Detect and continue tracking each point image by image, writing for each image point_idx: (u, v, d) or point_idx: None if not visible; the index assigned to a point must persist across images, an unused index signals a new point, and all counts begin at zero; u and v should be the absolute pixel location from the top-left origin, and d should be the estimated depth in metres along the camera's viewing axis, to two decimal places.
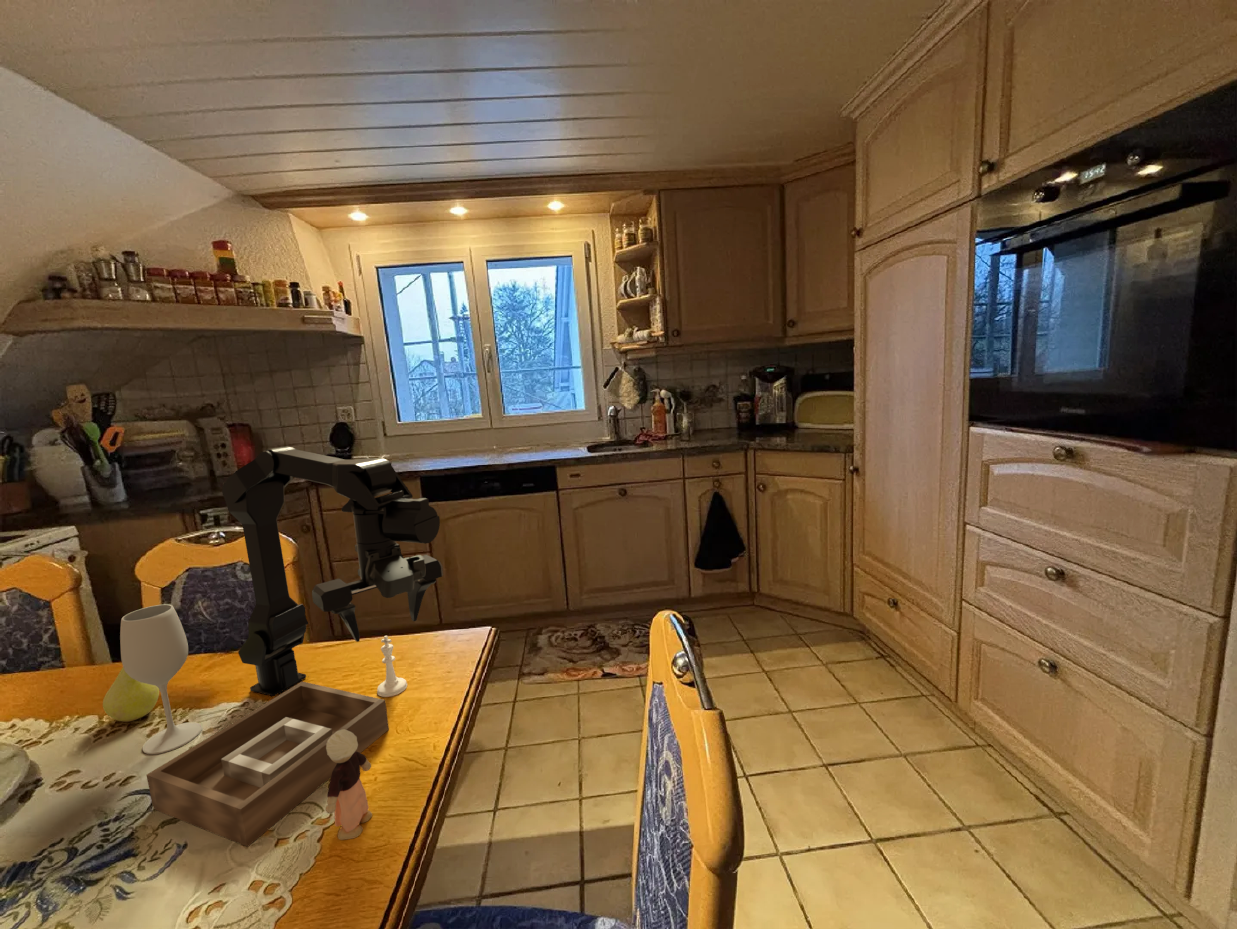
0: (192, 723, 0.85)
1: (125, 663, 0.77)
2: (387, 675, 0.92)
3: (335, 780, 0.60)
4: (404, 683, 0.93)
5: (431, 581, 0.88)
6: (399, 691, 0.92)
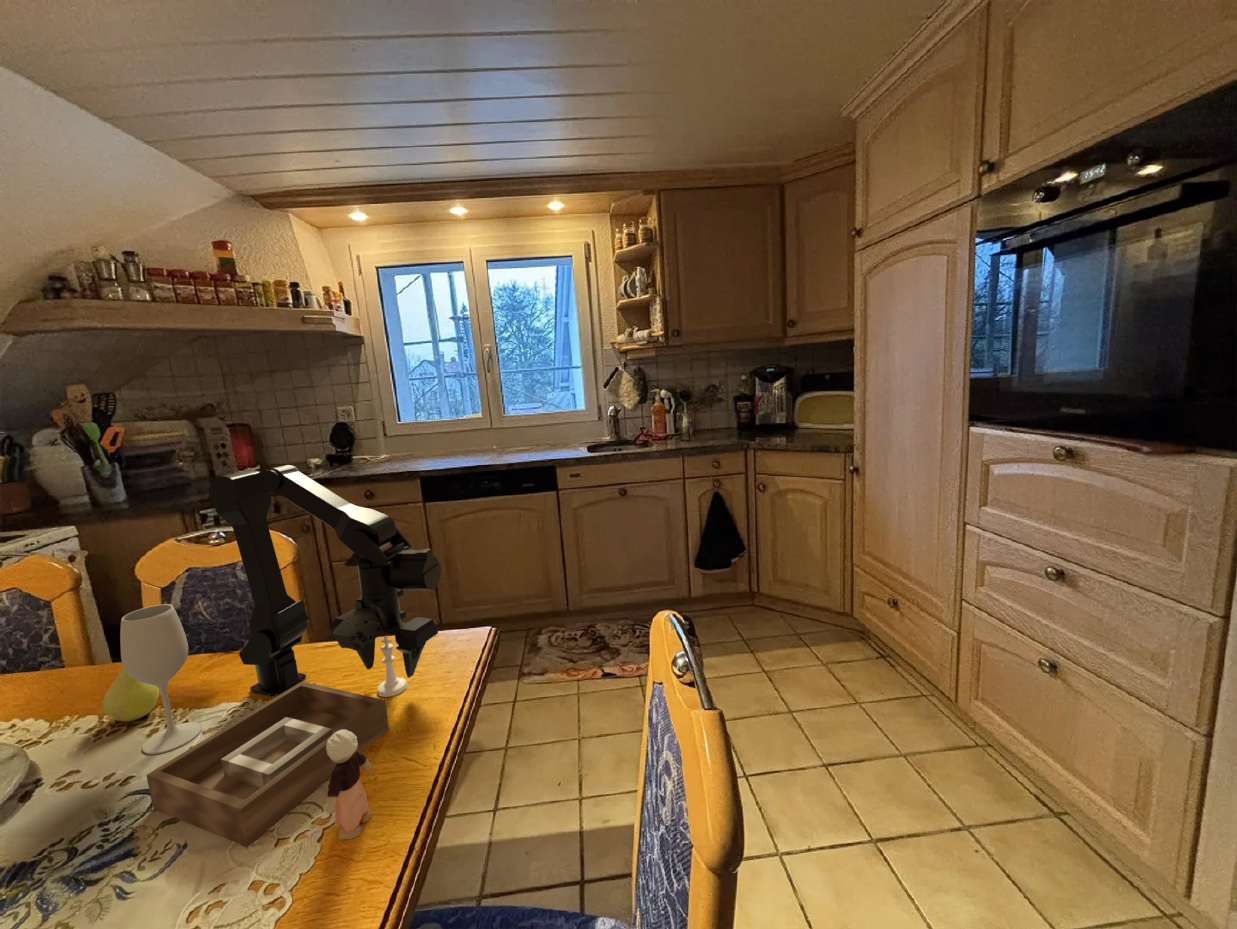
0: (192, 723, 0.85)
1: (125, 663, 0.77)
2: (387, 675, 0.92)
3: (335, 780, 0.60)
4: (404, 683, 0.93)
5: (405, 648, 0.87)
6: (399, 691, 0.92)
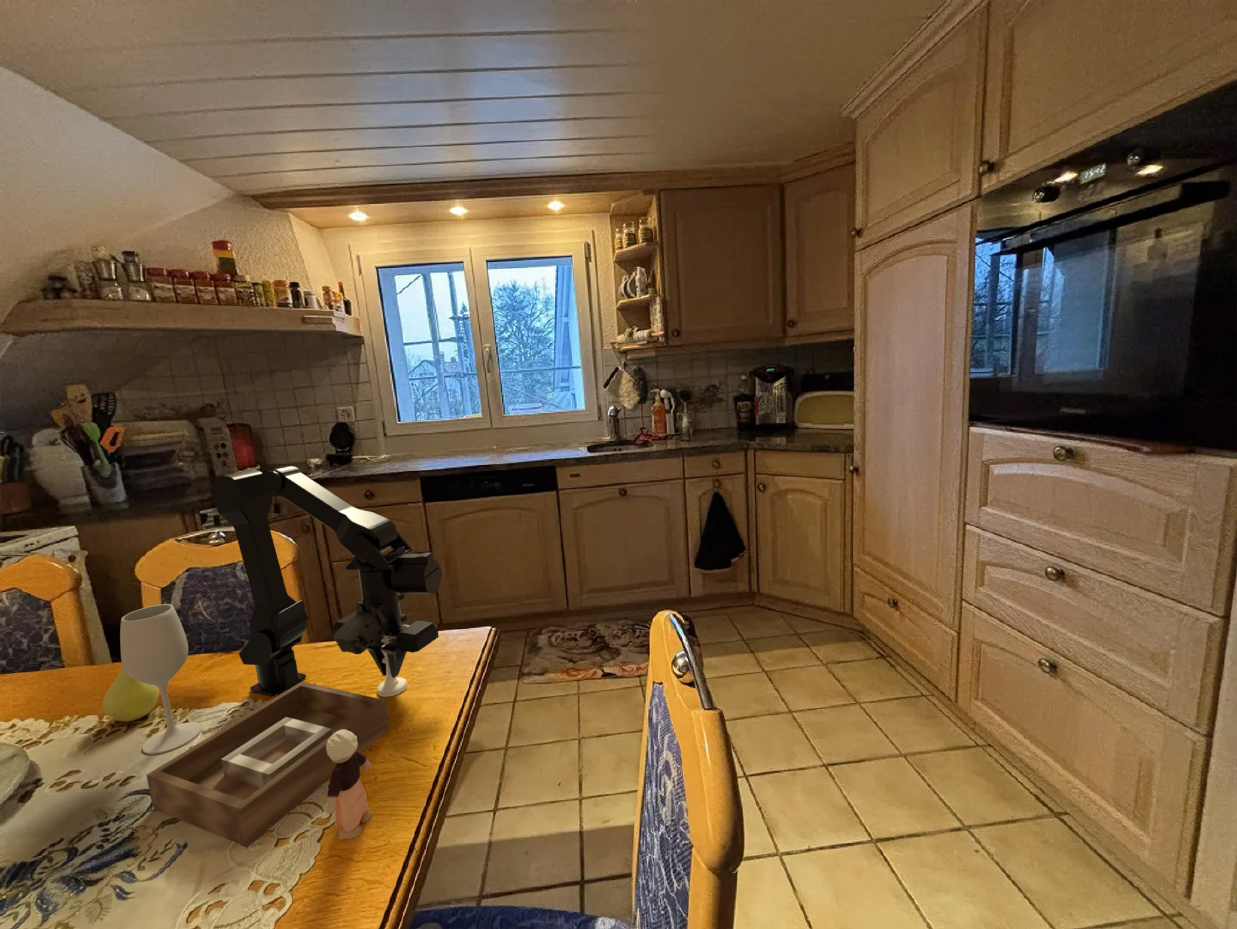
0: (192, 723, 0.85)
1: (125, 663, 0.77)
2: (387, 675, 0.92)
3: (335, 780, 0.60)
4: (404, 683, 0.93)
5: (390, 649, 0.88)
6: (399, 691, 0.92)
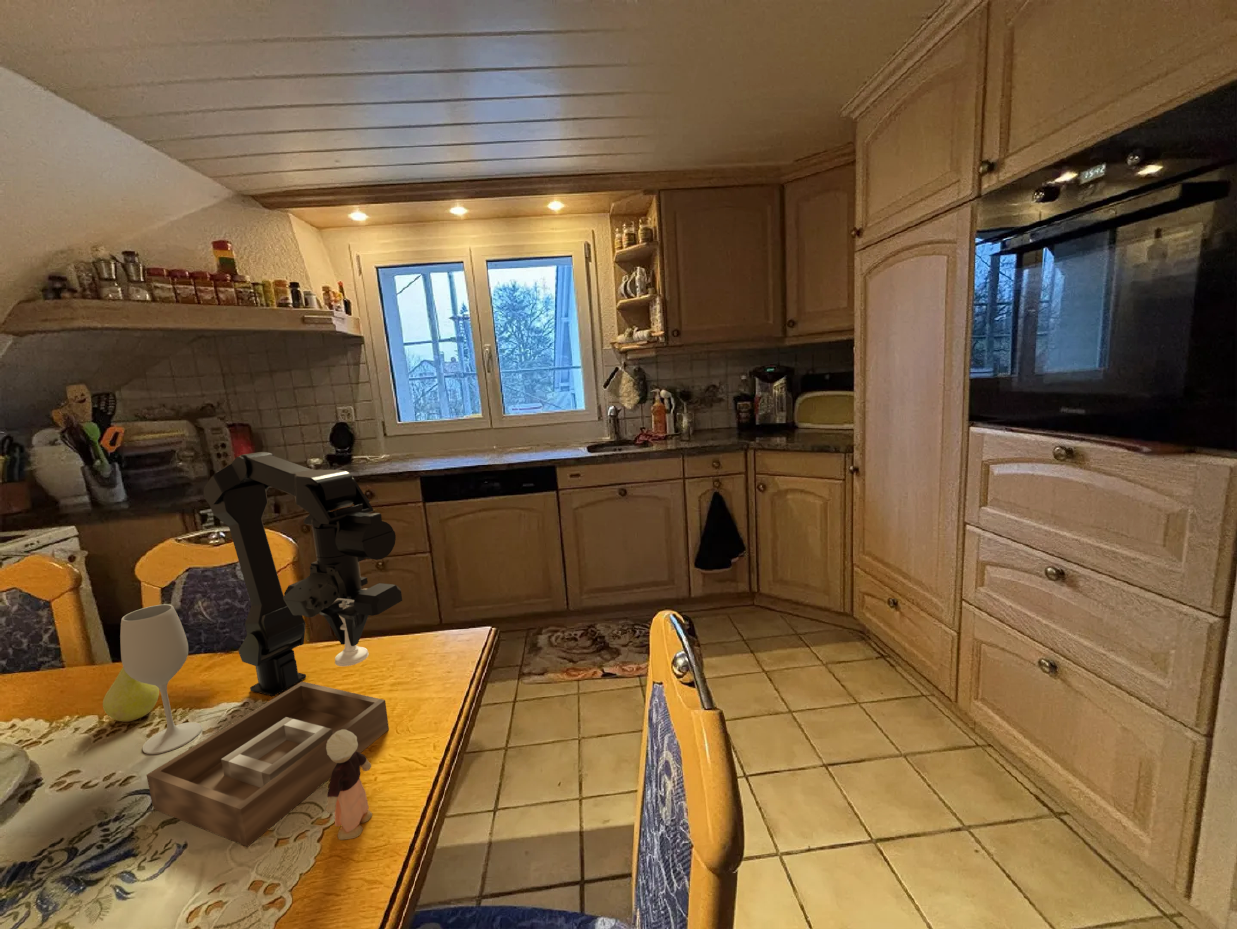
0: (192, 723, 0.85)
1: (125, 663, 0.77)
2: (346, 643, 0.84)
3: (335, 780, 0.60)
4: (365, 652, 0.85)
5: (347, 613, 0.80)
6: (359, 660, 0.84)
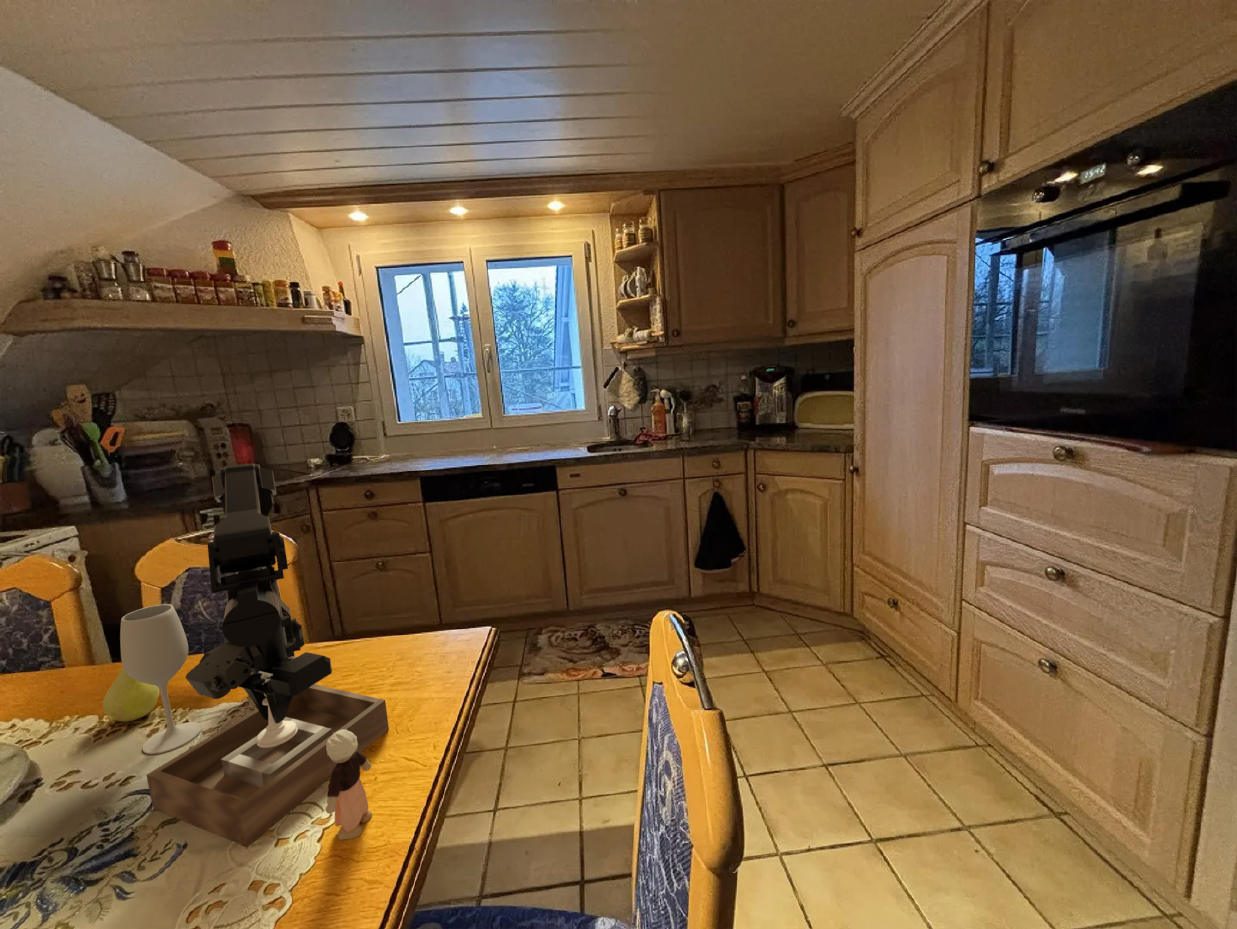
0: (192, 723, 0.85)
1: (125, 663, 0.77)
2: (269, 720, 0.73)
3: (335, 780, 0.60)
4: (292, 729, 0.74)
5: (265, 690, 0.69)
6: (284, 740, 0.73)
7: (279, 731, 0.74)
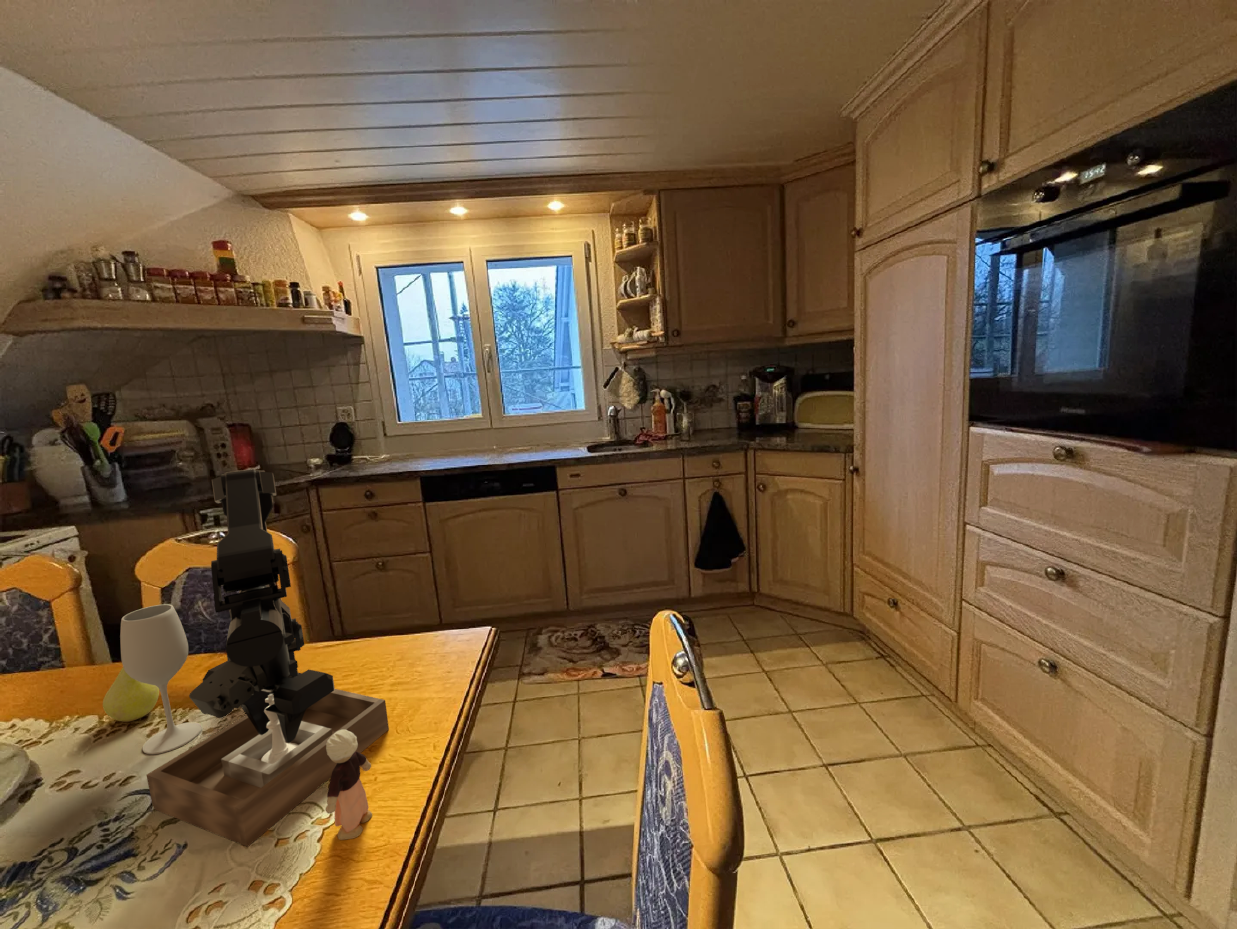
0: (192, 723, 0.85)
1: (125, 663, 0.77)
2: (273, 743, 0.74)
3: (335, 780, 0.60)
4: None
5: (277, 710, 0.69)
6: None
7: (283, 754, 0.74)
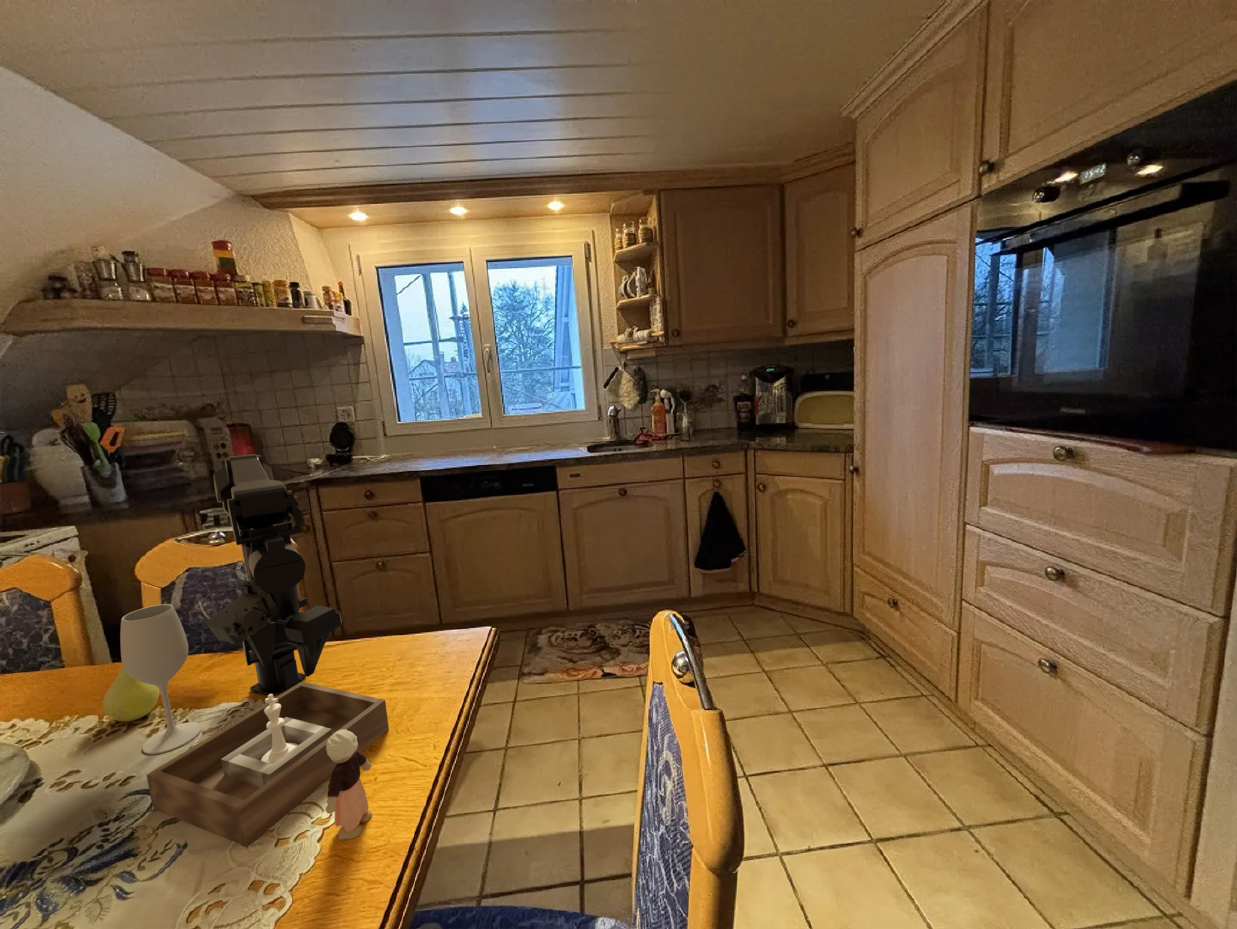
0: (192, 723, 0.85)
1: (125, 663, 0.77)
2: (273, 743, 0.74)
3: (335, 780, 0.60)
4: None
5: (297, 643, 0.73)
6: None
7: (283, 754, 0.74)
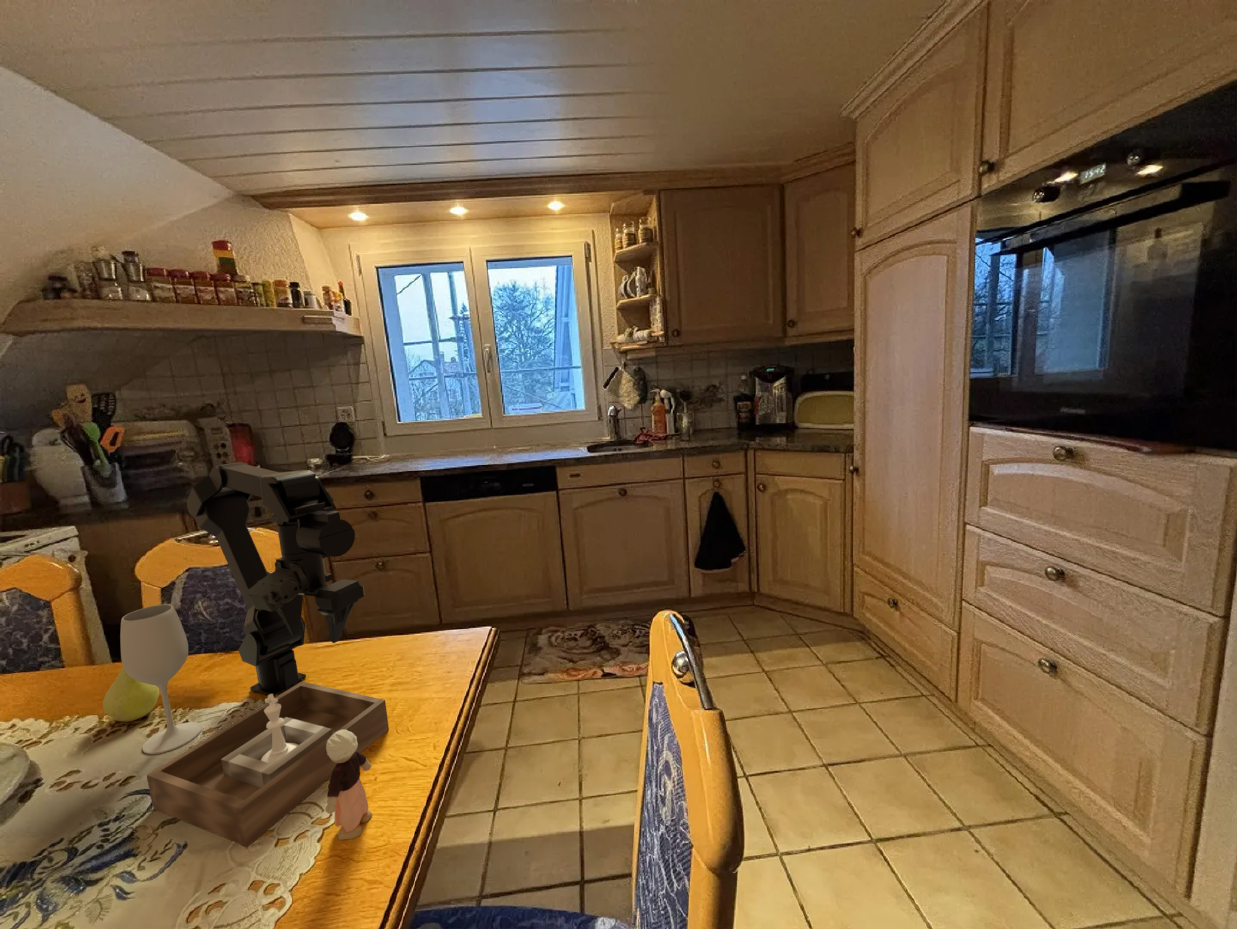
0: (192, 723, 0.85)
1: (125, 663, 0.77)
2: (273, 743, 0.74)
3: (335, 780, 0.60)
4: None
5: (326, 610, 0.82)
6: None
7: (283, 754, 0.74)
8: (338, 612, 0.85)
